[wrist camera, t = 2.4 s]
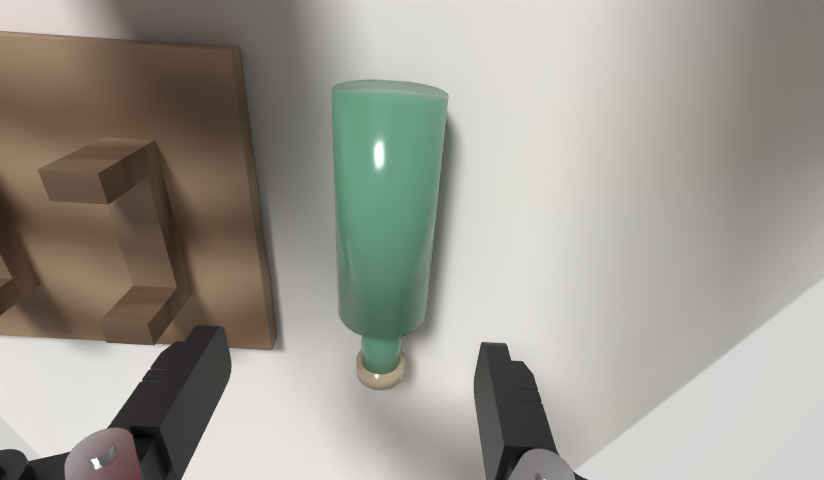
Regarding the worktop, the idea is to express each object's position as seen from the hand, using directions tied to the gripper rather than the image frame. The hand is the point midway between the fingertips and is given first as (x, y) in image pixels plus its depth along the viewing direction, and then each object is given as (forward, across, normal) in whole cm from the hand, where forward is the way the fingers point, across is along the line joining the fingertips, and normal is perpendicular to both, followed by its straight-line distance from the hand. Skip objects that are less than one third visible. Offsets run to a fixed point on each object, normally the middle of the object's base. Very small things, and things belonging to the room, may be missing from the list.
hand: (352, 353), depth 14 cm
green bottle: (+12, 0, +2) cm, 12 cm away
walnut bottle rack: (+12, +17, +2) cm, 21 cm away
